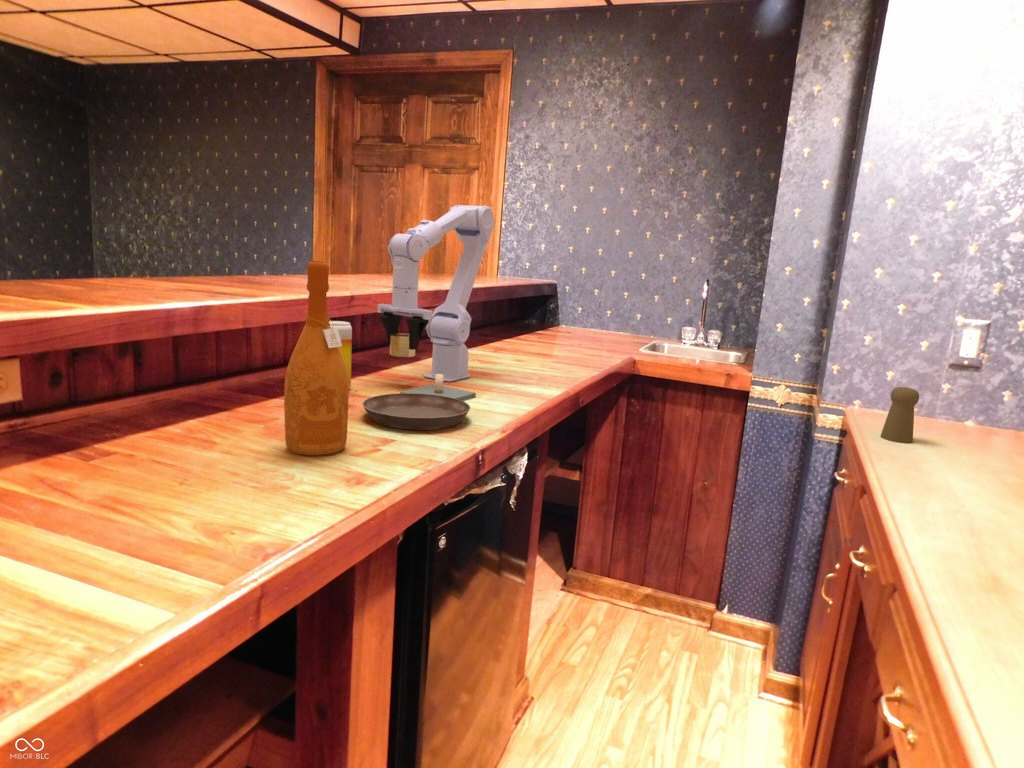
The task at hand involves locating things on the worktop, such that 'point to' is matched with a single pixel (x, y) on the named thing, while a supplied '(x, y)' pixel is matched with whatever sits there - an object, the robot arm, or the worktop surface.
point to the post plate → (442, 390)
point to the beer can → (345, 344)
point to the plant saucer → (416, 410)
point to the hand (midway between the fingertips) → (403, 347)
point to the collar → (400, 345)
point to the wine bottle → (316, 378)
